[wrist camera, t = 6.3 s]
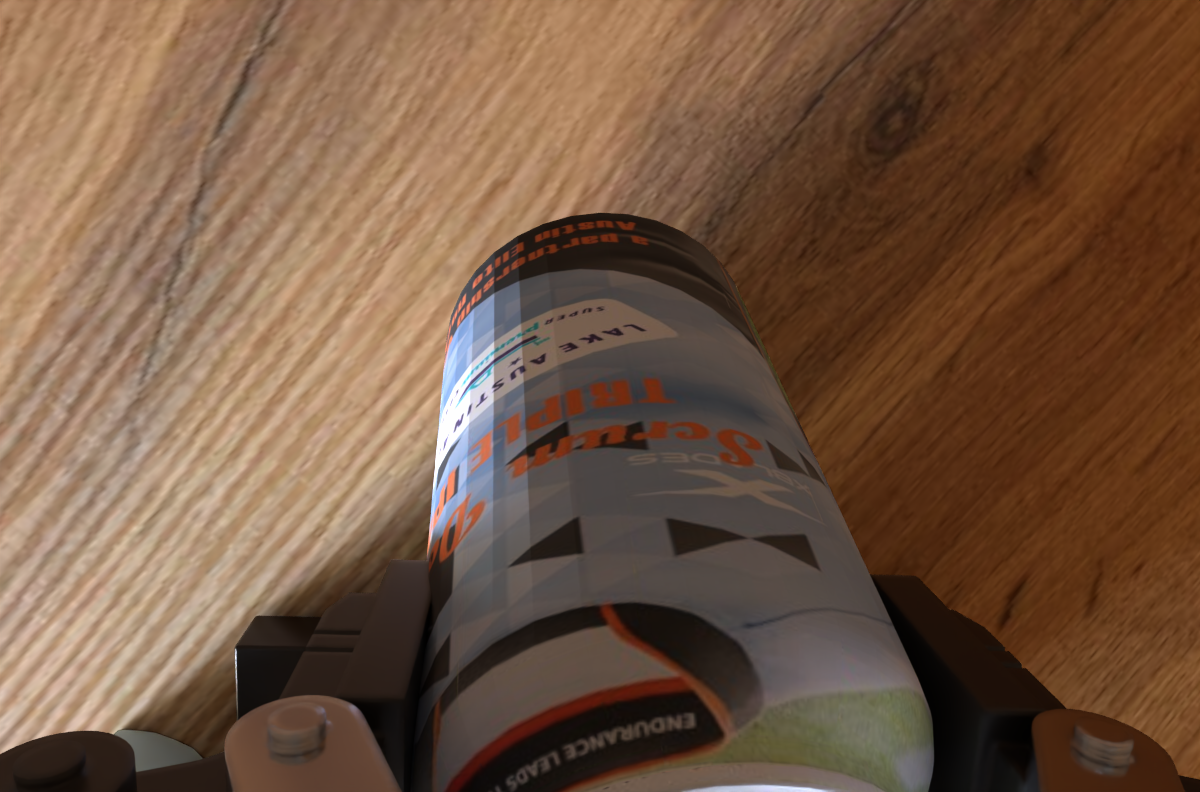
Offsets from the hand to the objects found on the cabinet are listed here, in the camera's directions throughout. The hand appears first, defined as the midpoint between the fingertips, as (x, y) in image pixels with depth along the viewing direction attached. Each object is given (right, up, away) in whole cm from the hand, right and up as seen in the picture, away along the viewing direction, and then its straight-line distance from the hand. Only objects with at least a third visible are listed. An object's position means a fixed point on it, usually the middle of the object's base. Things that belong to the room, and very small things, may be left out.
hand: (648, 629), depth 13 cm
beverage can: (-1, +4, +6) cm, 8 cm away
